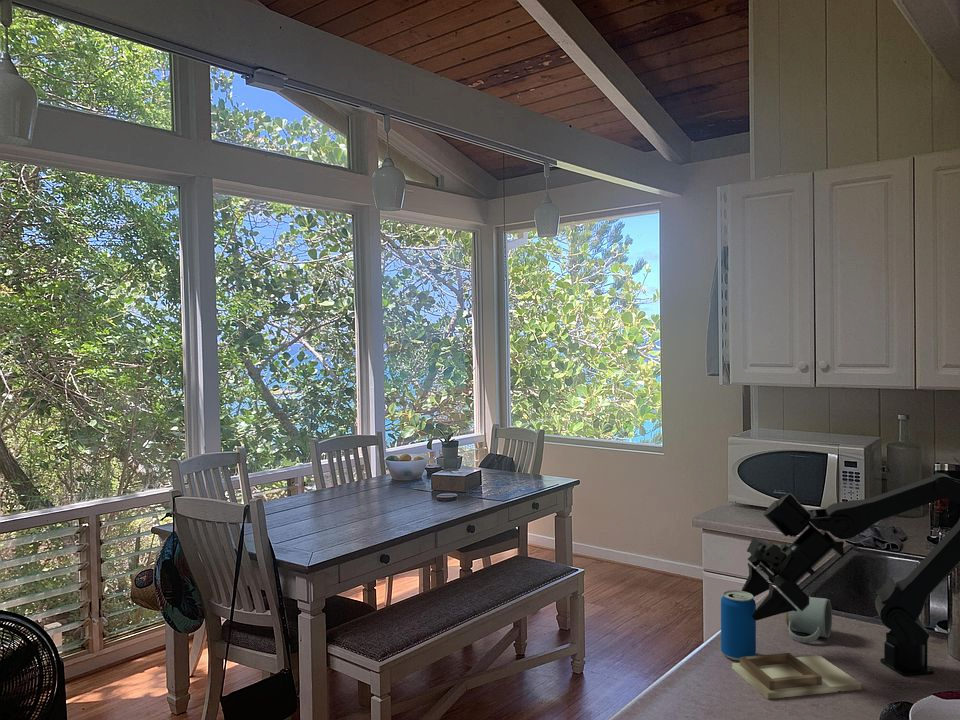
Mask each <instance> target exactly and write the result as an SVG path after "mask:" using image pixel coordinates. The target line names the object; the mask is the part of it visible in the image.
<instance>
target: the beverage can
mask: <svg viewBox="0 0 960 720" xmlns="http://www.w3.org/2000/svg"><path fill="white" fill-rule="evenodd" d="M756 609H757V603H756V600H755V599H754V597H753V595H752V594H750V593H748V592H744V591H741V590H735V589H734V590H733V589H731V590H726V591H724V592H723V593H722V596H721V599H720V652H722V654H723V655H724V656H725V657H726V658H728V659H730V660H732V661H737V662H740V657H748V656H757V621H756V620H754V619H753V618H752V615H753V613H754V612H755V611H756Z"/></svg>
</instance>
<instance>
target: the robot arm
mask: <svg viewBox="0 0 960 720" xmlns="http://www.w3.org/2000/svg"><path fill="white" fill-rule="evenodd" d="M943 499H946V500H949V501H952V502H954V503H957V504H959V505H960V479H957V478H955V477H951V476H949V475H948V474H945V473H942V472H939V473H934V474H933V475H931V476H929V477H926V478H924V479H921V480H919V481H915V482H912V483H910V484H907V485H904V486H900V487H898V488H896V489H892V490H890V491H887V492H884V493H882V494H881V493H880V494H879V495H876V496H873V497H871V498H865V499H855V500H854V499H853V500H845V501H841V502H835V503H832V504H830V505H828V507H826V508H817V509H808V510H807V509H806V507H805V506H804V505H803V504H801V503H800V501H798V500H797V499H796V497H795V496H794V495H793V493H791V492H788V493H786V494H785V495H784V496H781V498H779V499H778V500H775V501H774V502H772V503H771V504H770V505H769V506H768V507H767V508H766V510H765V511H764V512H763V516H764V518H766V520H768V521H769V522H770V523H771V524H772V525H773V526H774V527H775V528H776V529H777V531H779V532H780V533H781V534H782V535H783V536H785V537H789V536H790V537H791V538H792V537H793V538H796V537H797V536H798V535H799V536H798V537H797V538H796V539H795V540H793V541H792V542H791V543H790V545H787V544H781V545H780V546H779V545H777V544H774V543H773V542H771V541H770V542H769V543H768V542H766V541H764V540H762V539H760V538H758V537H756V536H753V537H752V539H751V541H750V542H749V544H748V547H747V549H746V552H747V553H750V556H749V557H748V558H747V561H749V562H748V563H747V567H748V577H747V579H746V581H745V583H744V585H743V587H742V589H741V590H740V591H744V592H748V593H750V594H752V595H753V598H755V597H757V596H759V595H761V594H763V593H765V592H767V591H768V594H767V596H766V597H765V598H764V599H763V601H762V602H761V603H760V605H759V606H758V607H756V611H755V612H754V613H753V615H752V618H753V619H754V620H756V622H757V621H760V620H763V619H766V618H770V617H773V616H776V615H781V614H785V613H786V612H790V611H795V612H796V611H797V609H796V608H795V606H797V607H798V608H799V609H800V610H801V611H803V610H804V609H805V608H806V607H807V606H808V605H809V597H810V596H809V595H807V594H806V593H805V592H804V591H803V590H802V589H801V587H800V585H798V583H799V582H800V581H801V580H803V579H804V577H806V575H810V576H811V577H812V576H813V575H814V574H815V573H816V571H815V570H814V567H816V566H817V565H818V564H819V563H820V562H822V560H823V559H825V557H826V556H827V555H829V554H830V553H831V551H833V552H834V553H835V554H837V555H839V556H840V557H844V556H845V550H844V544H845V543H844V541H843V540H849V539H853V538H854V537H856V536H858V535H860V534H862V533H864V532H866V531H867V530H868V529H870V528H871V527H873V525H875V524H876V523H878V522H880V521H882V520H885V519H888V518H891V517H893V516H896V515H899V514H901V513H905V512H908V511H911V510H913V509H917V508H920V507H922V506H925V505H928V504H932V503H935V502H937V501H940V500H943ZM819 530H820V531H819ZM830 534H831V535H832V536H831V535H830ZM833 536H834V537H835V538H837V539H840V540H836V539H835V538H834V537H833ZM959 564H960V517H959V519H958V520H957V523H955V524H954V526H953V527H952V528H951V529H950V530H949V531H948V532H947V533H946V534H945V536H943V537H942V538H941V539H940V540H939V542H938V543H937V544H936V545H935V546H933V548H932V550H931V551H930V552H928V554H927V555H925V557H924V558H923V559H922V561H920V562H919V563H918V564H917V566H916V567H915V568H914V569H913V570H912V571H911V572H910V573H909V574H908V576H906V577H904V578H903V579H900V580H898V581H896V580H895V579H894V578H893V577H889V578H888V580H887V581H886V583H885V584H884V586H883V587H881V588H879V589H878V590H876V594H877V597H876V598H875V601H874V603H875V609H876V612H877V613H878V615H879V618H880V620H881V622H882V623H883V625H884V626H885V627H886V628H888V629H889V632H888V631H887V632H886V633H885V641H884V644H883V646H884V647H883V648H884V649H883V651H884V652H883V653H884V654H883V655H884V656H883V657H882V658H879V661H880V663H881V664H883V665H886V666H887V667H888V668H890V669H891V670H894V671H895V672H897V673H898V674H900V675H902V676H908V677H909V676H917V675H927V674H934V673H935V669H933V668H932V667H930V666H928V658H929V657H928V647H929V646H928V642H929V641H928V640H929V638H930V634H929V632H928V630H927V629H926V626H925V625H924V624H923V621H922V620H921V618H920V616H921V614H922V612H923V610H924V607H925V605H926V601H927V599H928V597H929V596H930V594H931V593H933V592H934V590H935V589H937V587H938V586H939V584H941V583H942V581H944V580H945V579H946V577H947V576H948V575H949V574H950V573H952V571H953V570H954V569H955V568H956V567H957V566H958V565H959ZM774 585H775V586H776V587H775V586H774Z"/></svg>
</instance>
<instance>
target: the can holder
mask: <svg viewBox="0 0 960 720" xmlns="http://www.w3.org/2000/svg"><path fill="white" fill-rule="evenodd" d="M731 665H732V667H731V668H732V670H734V671H735V672H736V673H737V675H739V676H740V677H742V679H744V680H745V682H747V683H748V684H749V685H751V686H752V687H753V688H754V689H755V690H756V691H757V692H759V693H760V694H761V695H762V696H764V697H765V698H766V699H767V700H771V699H772V700H773V699H780V698H781V699H782V698H789V697H800V696H801V697H802V696H809V695H810V696H811V695H818V694H819V695H820V694H829V693H839V692H838V691H841V692H850V691H859V690H862V683H861V682H859V680H857V679H855V678H854V677H852V676H851V675H849V674H848V673H847V672H844V671H843V670H842V669H840V668H839V667H837V666H836V665H834V663H833V664H832V663H831V662H830V661H829V660H827V659H825V658H824V657H822V656H821V655H808V656H807V655H806V656H797V657H796V656H794V655H792V654H791V652H784V653H783V652H782V653H771V654H770V653H769V654H762V655H761V654H760V655H755V656H748V657H740V661H739V662H732V664H731Z"/></svg>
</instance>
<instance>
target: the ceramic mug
mask: <svg viewBox="0 0 960 720" xmlns="http://www.w3.org/2000/svg"><path fill="white" fill-rule="evenodd" d="M808 597H809V605H808V606H807V607H806V608H805V609H804V610H803V611H801V610H800V609H799V608H798V607H797V606H795V608H796V609H797V611H796V612H795V611H790V612H786V613H784V618H785V624H786V626H787V628H788V633H789V636H790V637H791V639H792V640H794V641H796V642H798V643H801V642H802V644H809V643H810V644H811V643H814V642H815V641H817V640H818V638H819V637H821V638H826V639H827V638H829V637H830V634H831V632H832V626H833V610H832V604H831V600H830V599H828V598H823V597H812V596H808ZM793 631H795V632H798V633H802V634H808V636H800V635H797V634H795V633H793Z"/></svg>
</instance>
